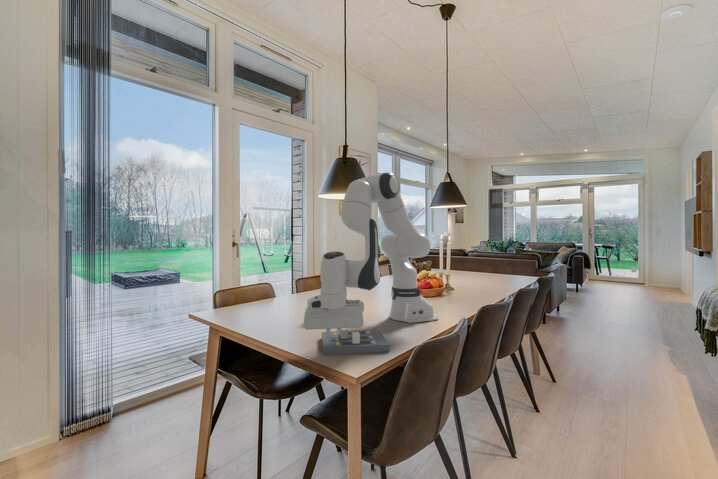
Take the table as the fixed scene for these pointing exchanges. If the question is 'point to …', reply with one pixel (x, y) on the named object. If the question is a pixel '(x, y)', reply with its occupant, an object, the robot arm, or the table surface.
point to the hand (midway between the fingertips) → (333, 340)
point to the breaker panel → (368, 344)
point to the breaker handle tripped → (355, 338)
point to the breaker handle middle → (344, 333)
